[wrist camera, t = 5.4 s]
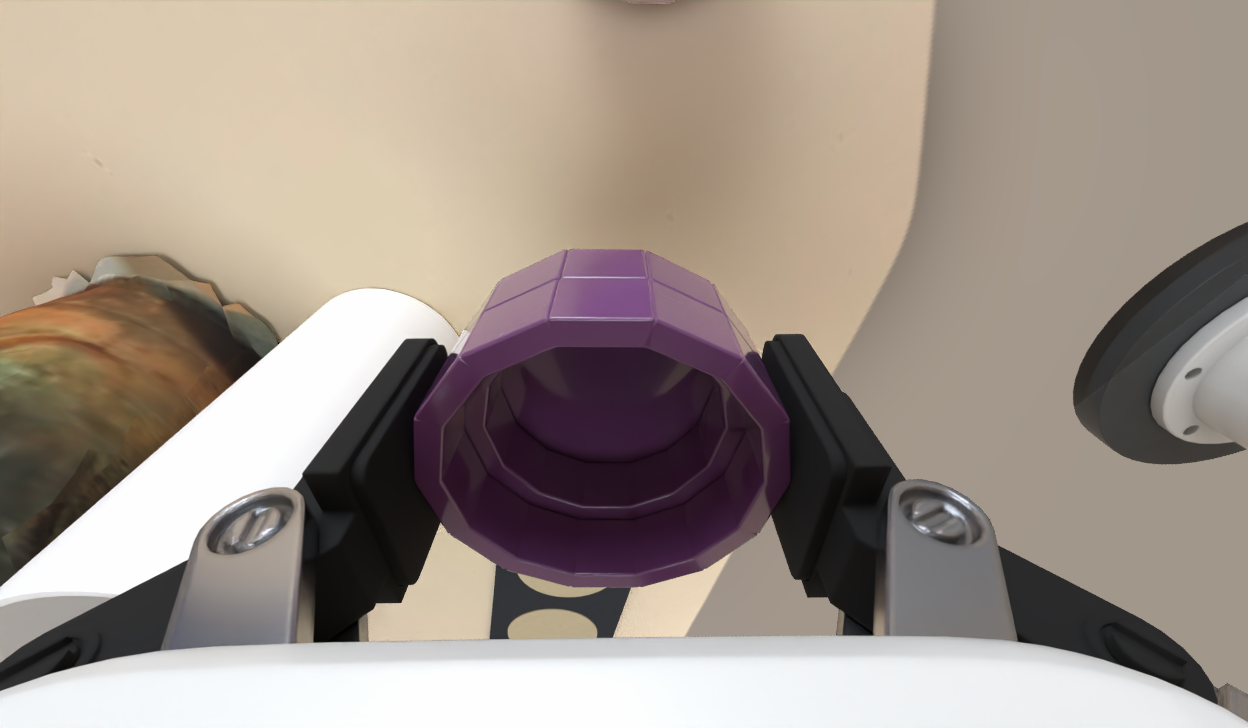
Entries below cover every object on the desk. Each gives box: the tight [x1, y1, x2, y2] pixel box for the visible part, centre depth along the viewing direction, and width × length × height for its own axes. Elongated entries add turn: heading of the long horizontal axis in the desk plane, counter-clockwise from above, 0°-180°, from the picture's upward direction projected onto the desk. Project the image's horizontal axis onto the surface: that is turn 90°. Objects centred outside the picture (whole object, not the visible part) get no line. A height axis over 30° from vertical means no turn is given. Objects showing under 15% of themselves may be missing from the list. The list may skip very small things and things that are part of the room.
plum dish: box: [414, 249, 791, 587], centre depth 10 cm, size 7×7×3 cm
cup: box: [0, 288, 459, 663], centre depth 19 cm, size 8×8×16 cm
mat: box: [490, 564, 631, 639], centre depth 40 cm, size 20×11×1 cm, turn 168°
